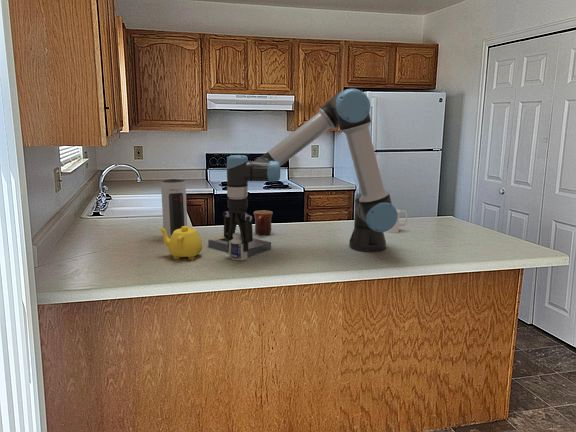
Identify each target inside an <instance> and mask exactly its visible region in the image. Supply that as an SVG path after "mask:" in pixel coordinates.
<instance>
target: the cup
mask: <svg viewBox="0 0 576 432" xmlns="http://www.w3.org/2000/svg"><path fill="white" fill-rule="evenodd" d="M396 210H397V214H398V218H397V222H396V224H395V225H394V226H393V227H392V228H391V229H390V230H388V231H385V232H384V233H389V234H396V233H398V232H399V231H400V230H399V229H400V228H399V227H405V226H406V225H407V222H408V211H406V210H403V209H402V210H400V209H397V208H396ZM401 213H404V214H405V215H404V216H405V220H404V223H400V214H401Z"/></svg>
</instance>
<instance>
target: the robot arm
mask: <svg viewBox="0 0 576 432" xmlns="http://www.w3.org/2000/svg"><path fill="white" fill-rule="evenodd" d="M370 110H371V102H370V99H369V97H368V96H367V94H366V93H365V92H364V91H362V90H360V89H357V88H352V87H351V88H347V89H344V90H341V91H338V92H336V93H335V94H334V95H333V96H332V97H331V98H330V99H329V100H328V101H326V103H325V104H323V105H322V106H320V108H318V113H316V114H315V115H314V116H312V117H311V118H309V119H308V120H307V121H306V122H304V123H303V124H302V125H301V126H299V127H298V128H297V129H295V130H294V131H293V132H292V133H290V134H289V135H287V136H286V137H284V139H282V140H281V141H280V142H278V143H277V144H276V145H274V146H273V147H271V149H269V150H267V152H266V153H264V154H263V155H261V156H260V157H257V158H256V159H255V160H254V161H253V160H248V159H249V158H248V156H247V155H243V154H236V155H235V154H233V155H229V156H228V157H227V158H226V183H227V184H226V186H227V187H226V188H227V189H226V191H227V192H226V193H227V194H226V196H227V199H226V200H227V201H226V203H227V208H228V210H227V211H223V212H222V217H223V236H224V237H225V238H227V239H228V247H229V252H228V257H229V258H231V240H232V239H233V233H236V229H237V226H238V228H239V233H241V238H242V242H241V260H240V261H245V260H248V257H247V251H248V243H249V242H252V241H253V237H254V236H253V235H254V233H253V221H254V216H253V215H250V214H248V211H247V209H248V208H249V207H248V205H249V201H248V200H249V199H248V196H249V195H248V193H249V191H248V187H249V186H248V182H266V183H267V182H270V183H273V182H279V181H280V179H281V166H283V165H284V164H285V163H287V162H288V161H289V160H291V159H292V158H293V157H295V156H296V155H297V154H298V153H300V152H301V151H303V149H305V148H306V147H307V146H309V145H310V144H311V143H313V142H314V141H315V140H317V139H318V138H319V137H321V136H322V135H323V134H324V133H325V132H328V130H330V129H331V130H332V129H333V130H334V129H335V128H336V127H339V130H340V132H342V133H343V134H345V136H346V140H347V145H348V148H349V152H350V156H351V160H352V163H353V166H354V171H355V175H356V178H357V182H358V186H359V190H360V192H357V193H356V194H355V197H354V198H355V199H354V221H353V222H354V223H353V230H352V233H351V235H350V239H349V240H348V241H349V244H348V246H349V248H350V249H353V250H355V251H361V252H372V253H373V252H380V251H384V250H386V249H387V241H386V238H385V234H384V233H386V232H385V231H388V230H390V229H391V228H392V227H393V226H394V225H395V224H396V222H397V218H398V214H397V210H396V209H397V208H396V206H395V205H394V204H393V203H392V199H391V195H390V192H389V191H388V190H386V189H385V187H384V184H383V180H382V175H381V172H380V169H379V163H378V161H377V156H376V153H375V149H374V145H373V141H372V136H371V133H370V129H369V127H370V125H371V123H372V119H371V115H370ZM245 239H246V240H245Z"/></svg>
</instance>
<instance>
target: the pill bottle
mask: <svg viewBox="0 0 576 432" xmlns="http://www.w3.org/2000/svg"><path fill="white" fill-rule="evenodd" d="M241 242H242V238H241V233H240V232H235V233H233V239H232V240H231V257H230V260H231V261H232V260H233V261H242V260H241Z"/></svg>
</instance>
